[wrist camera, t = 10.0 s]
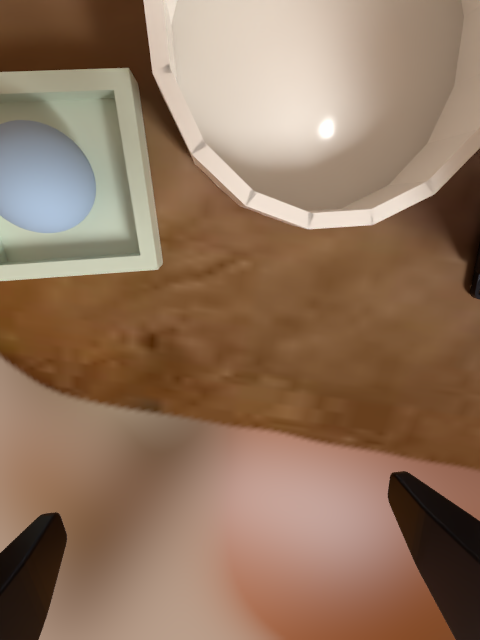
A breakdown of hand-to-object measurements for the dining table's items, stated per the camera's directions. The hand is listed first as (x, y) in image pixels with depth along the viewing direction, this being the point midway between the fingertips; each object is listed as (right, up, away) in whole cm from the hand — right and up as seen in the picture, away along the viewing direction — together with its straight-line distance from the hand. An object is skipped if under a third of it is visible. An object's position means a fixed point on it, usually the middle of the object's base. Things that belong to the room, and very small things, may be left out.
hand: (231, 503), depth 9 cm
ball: (-9, +11, +6) cm, 15 cm away
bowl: (+4, +18, +8) cm, 20 cm away
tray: (-9, +12, +9) cm, 18 cm away
